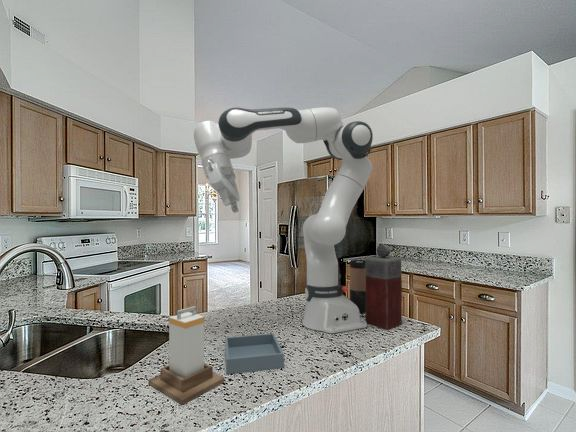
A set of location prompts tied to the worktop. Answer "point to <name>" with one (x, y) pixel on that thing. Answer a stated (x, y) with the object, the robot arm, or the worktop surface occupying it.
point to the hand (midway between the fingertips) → (231, 208)
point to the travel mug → (358, 284)
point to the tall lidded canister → (186, 343)
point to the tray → (253, 353)
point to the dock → (186, 383)
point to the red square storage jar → (383, 290)
